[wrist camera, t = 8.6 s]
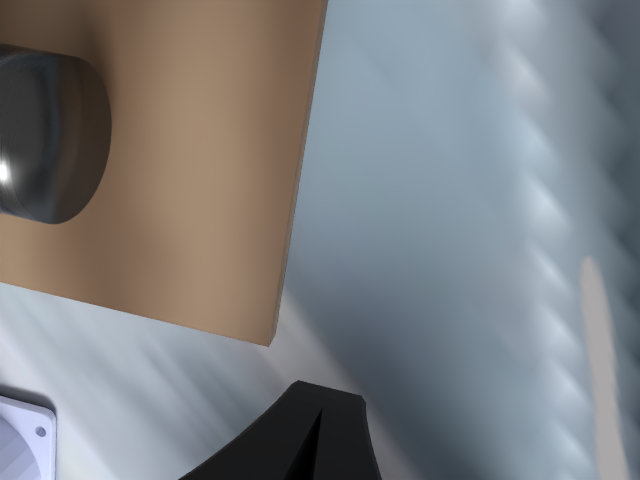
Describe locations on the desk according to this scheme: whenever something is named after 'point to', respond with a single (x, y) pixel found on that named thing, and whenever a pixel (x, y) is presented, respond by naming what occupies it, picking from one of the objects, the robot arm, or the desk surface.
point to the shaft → (50, 134)
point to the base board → (179, 158)
